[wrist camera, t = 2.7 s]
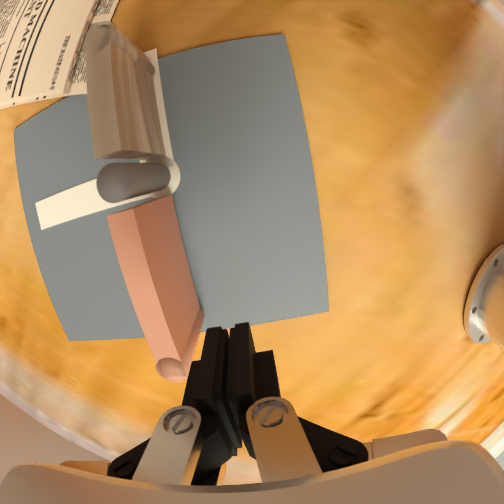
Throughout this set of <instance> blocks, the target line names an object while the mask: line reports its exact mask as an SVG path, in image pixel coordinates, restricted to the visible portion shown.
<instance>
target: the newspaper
mask: <svg viewBox="0 0 504 504" xmlns="http://www.w3.org/2000/svg"><path fill="white" fill-rule="evenodd" d="M118 1H119V0H5V2H4V4H3V6H2V8H1V10H0V109H3V108H7V107H11V106H16V105H20V104H25V103H30V102H35V101H41V100H47V99H52V98H58V97H63V96H69V95H78V94H87V85H86V55H85V52H84V51H83V42H84V39H85V37H86V32H87V31H89V30H91V29H93V28H95V27H97V26H99V25H101V24H103V23H106V22H108V21H110V20H111V18H112V15H113V13H114V10H115V8H116V6H117V3H118Z"/></svg>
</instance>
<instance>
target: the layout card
mask: <svg viewBox="0 0 504 504" xmlns="http://www.w3.org/2000/svg"><path fill="white" fill-rule="evenodd" d="M144 53H145V54H146V55H147V56H148V57H149V58H150V59H151V62H152V65H153V66H154V68H155V74H154V77H153V78H154V86H155V93H156V100H157V107H158V113H159V119H160V126H161V132H162V137H163V143H164V149H165V154H166V155H162V156H158V157H155V158H151V159H148V160H132V159H95V157H94V151H93V144H92V137H91V129H90V120H89V111H88V99H87V94H78V95H70V96H68V97H66V98H64V99H62V100H60V101H59V102H57V103H55V104H53V105H52V106H50V107H48V108H47V109H45V110H43V111H42V112H40V113H38V114H37V115H35V116H34V117H32V118H30V119H29V120H27V121H26V122H24V123H23V124H21V125H20V126H19V127H17V128H16V129H14V144H15V155H16V164H17V172H18V179H19V186H20V191H21V197H22V202H23V207H24V212H25V217H26V221H27V225H28V229H29V233H30V237H31V241H32V245H33V248H34V252H35V255H36V258H37V261H38V265H39V268H40V271H41V274H42V277H43V279H44V282H45V285H46V288H47V290H48V293H49V296H50V298H51V301H52V303H53V306H54V308H55V311H56V313H57V315H58V318H59V320H60V322H61V325H62V327H63V329H64V331H65V333H66V335H67V337H68V340H69V341H88V340H112V339H129V338H143V337H145V335H144V332H143V330H142V327H141V325H140V322H139V320H138V317H137V314H136V312H135V309H134V306H133V303H132V300H131V298H130V295H129V292H128V289H127V286H126V283H125V280H124V277H123V274H122V271H121V267H120V264H119V261H118V257H117V254H116V251H115V247H114V243H113V240H112V236H111V232H110V228H109V225H108V221H107V216H108V215H111V214H113V213H116V212H119V211H121V210H124V209H127V208H129V207H132V206H135V205H138V204H141V203H143V202H146V201H149V200H152V199H156V198H160V197H165V196H169V195H172V197H173V202H174V207H175V211H176V215H177V220H178V224H179V229H180V233H181V237H182V241H183V245H184V249H185V253H186V257H187V261H188V265H189V269H190V273H191V277H192V280H193V284H194V288H195V291H196V295H197V298H198V302H199V306H200V308H201V309H202V310H203V311H204V315H205V317H204V321H203V324H202V328H201V331H200V332H204V331H206V330H207V328H211V327H218V326H221V327H222V329H228V328H235V324H238V323H244V322H249V325H255V324H261V323H268V322H274V321H280V320H285V319H291V318H296V317H302V316H307V315H312V314H317V313H322V312H327V311H329V299H328V286H327V275H326V264H325V254H324V245H323V236H322V227H321V219H320V212H319V204H318V197H317V190H316V184H315V177H314V171H313V165H312V159H311V153H310V147H309V142H308V136H307V131H306V126H305V121H304V116H303V111H302V106H301V101H300V97H299V92H298V88H297V83H296V79H295V75H294V70H293V66H292V62H291V58H290V54H289V50H288V47H287V43H286V39H285V35H284V34H277V35H267V36H259V37H251V38H244V39H238V40H232V41H226V42H221V43H216V44H211V45H206V46H202V47H198V48H194V49H190V50H186V51H182V52H178V53H175V54H171V55H168V56H165V57H161V58H158V56H157V49H156V48H155V49H152V50H149V51H146V52H144ZM109 163H160V164H163V165H165V166H166V167H167V168H168V169H169V171H170V175H171V179H170V182H169V184H168V186H167V187H166V188H165V189H163V190H160V191H156V192H153V193H149V194H145V195H142V196H138V197H135V198H131V199H128V200H124V201H121V202H118V203H109V202H106V201H105V200H103V199H102V198H101V196H100V195H99V193H98V191H97V185H96V182H97V177H98V174H99V172H100V170H101V169H102V168H103V167H104V166H105V165H107V164H109Z"/></svg>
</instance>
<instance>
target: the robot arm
mask: <svg viewBox="0 0 504 504" xmlns="http://www.w3.org/2000/svg"><path fill="white" fill-rule="evenodd" d="M464 328H465V331H466V334H467V335H468V336H469V338H470V339H472V340H473V341H474V342H475V343H477V344H485V343H488V342H491V341H493V342H494V343H495V344H497V345H498V346H499V347H500V348H501V349H502V350H503V351H504V243H503V244H501V245H500V246H498V247H497V248H496V249H495V250H494V251H493V252H492V253H491V254H490V255H489V256H488V257H487V259H486V260H485V261H484V263H483V264H482V266H481V268H480V269H479V271H478V273H477V275H476V277H475V279H474V281H473V283H472V286H471V288H470V291H469V294H468V297H467V301H466V306H465V311H464ZM242 439H243V442H244V444H245V446H246V448H247V450H248V453H249V455H250V456H251V457H252V458H254V459H255V460H257V464H258V468H259V472H260V476H261V479H262V483H255V484H242V485H223V480H224V476H225V471H226V463H225V462H227V461H228V460H229V459H230V458H231V457H232V456H237V448H242ZM0 504H504V471H503V469H502V468H501V467H500V465H499V464H498V463H497V461H496V460H495V459H494V458H493V456H492V455H491V454H490V453H489V452H488V451H487V450H486V449H485V448H483V447H482V446H481V445H479V444H477V443H475V442H472V441H467V440H449V441H447V438H446V436H445V434H443V433H442V432H441V431H439V430H435V429H426V430H422V431H417V432H413V433H408V434H403V435H397V436H391V437H385V438H379V439H372V442H368V443H361V442H359V441H357V440H355V439H352V438H349V437H347V436H344V435H341V434H339V433H336V432H334V431H331V430H329V429H326V428H324V427H321V426H319V425H316V424H314V423H312V422H309V421H307V420H305V419H303V418H300V417H298V416H297V414H296V412H295V410H294V408H293V406H292V404H291V403H290V402H289V401H287V400H286V399H284V398H281V395H280V389H279V383H278V377H277V371H276V365H275V360H274V355H273V350H270V351H264V352H258V353H256V351H255V347H254V342H253V338H252V333H251V329H250V325H249V322H244V323H238V324H235V328H230V338H229V335H228V331H227V329H222V327H221V326H218V327H211V328H207V330H206V335H205V340H204V345H203V351H202V356H201V360H199V361H193V362H192V363H191V366H190V371H189V375H188V380H187V384H186V388H185V393H184V398H183V402H182V406H177V407H174V408H171V409H169V410H167V411H166V412H165V413H164V414H163V415H162V416H161V418H160V419H159V421H158V424H157V426H156V428H155V430H154V432H153V434H152V436H151V438H149V439H148V440H146V441H144V442H143V443H141V444H140V445H138V446H136V447H135V448H133V449H131V450H130V451H128V452H126V453H125V454H123V455H121V456H119V457H118V458H116V459H115V460H114V461H112V463H110V462H109V461H108V460H102V461H65V462H63V463H61V464H60V465H55V464H50V463H37V462H36V463H25V464H20V465H17V466H15V467H13V468H12V469H11V470H10V471H9V472H8V474H7V475H6V476H5V478H4V480H3V481H2V483H1V485H0Z"/></svg>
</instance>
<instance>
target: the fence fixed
mask: <svg viewBox="0 0 504 504" xmlns="http://www.w3.org/2000/svg"><path fill="white" fill-rule="evenodd" d="M83 51H84V52H85V55H86V85H87V99H88V111H89V120H90V129H91V137H92V144H93V151H94V157H95V159H132V160H148V159H151V158H155V157H158V156H162V155H166V154H165V149H164V143H163V137H162V132H161V126H160V119H159V113H158V107H157V100H156V93H155V86H154V78H153V77H154V74H155V68H154V66H153V65H152V62H151V59H150V58H149V57H148V56H147V55H146V54H145V53H144V52H143V51H142V50H141V49H140V48H139V47H138V46H136V45H135V44H134V43H133V42H132V41H131V40H130V39H129V38H128V37H127V36H126V35H125V34H124V33H123V32H122V31H121V30H120V29H119V28H118V27H117V26H115V25H114V24H113V23H112V22H111V21H108V22H106V23H103V24H101V25H99V26H97V27H95V28H93V29H91V30H89V31H87V32H86V37H85V39H84V42H83Z"/></svg>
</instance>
